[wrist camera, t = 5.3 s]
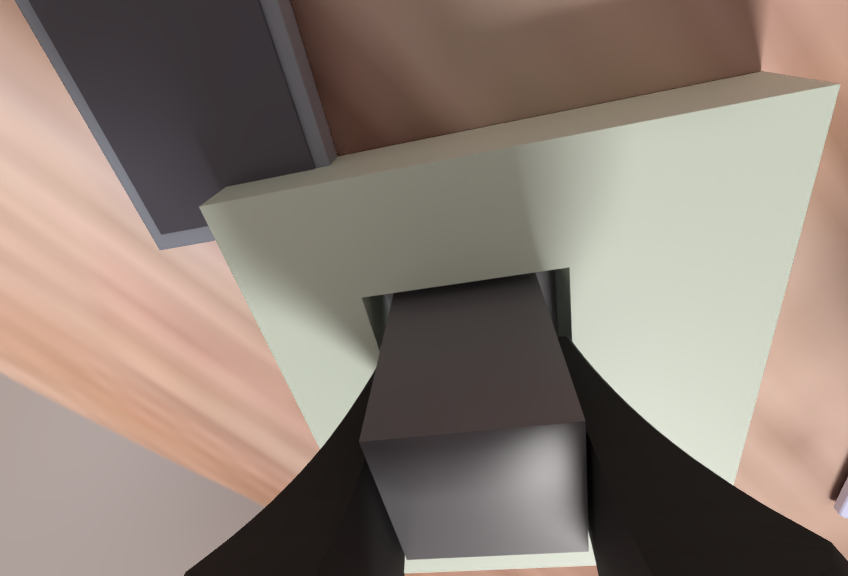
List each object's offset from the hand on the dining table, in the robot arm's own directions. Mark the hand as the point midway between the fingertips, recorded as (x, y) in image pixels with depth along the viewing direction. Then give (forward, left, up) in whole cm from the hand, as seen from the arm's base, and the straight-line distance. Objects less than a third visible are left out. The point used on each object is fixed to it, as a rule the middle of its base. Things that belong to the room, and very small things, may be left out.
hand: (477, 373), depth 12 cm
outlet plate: (-1, +3, -3) cm, 4 cm away
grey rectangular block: (0, 0, -2) cm, 2 cm away
